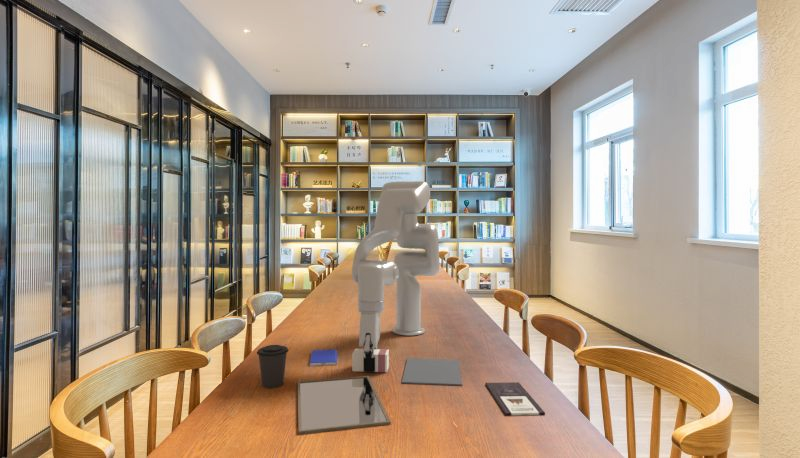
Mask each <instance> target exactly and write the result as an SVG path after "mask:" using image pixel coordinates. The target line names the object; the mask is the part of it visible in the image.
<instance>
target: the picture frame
mask: <svg viewBox="0 0 800 458" xmlns="http://www.w3.org/2000/svg"><path fill="white" fill-rule="evenodd" d="M297 415H298V416H297V417H298V421H297V423H298V435H308V434H317V433H326V432H335V431H342V430H343V431H344V430H352V429H353V430H354V429H359V428H360V429H361V428H369V427H371V428H372V427H378V426H379V427H380V426H389V425H392V424H391V420H390V417H389V415H388V413H387V410H386V409H385V407H384V405H383V403H382V401H381V398H380V397H379V394H378V393H377V390H376V388H375V386H374V384H373V382H372V379H371V378H370V375H362V376H360V375H359V376H350V377H349V376H348V377H337V378H324V379H312V380H301V381H300V380H299V381H297Z"/></svg>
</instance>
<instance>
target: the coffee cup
mask: <svg viewBox="0 0 800 458" xmlns="http://www.w3.org/2000/svg"><path fill="white" fill-rule="evenodd" d="M288 352H289V349H288V347H287V346H285V345H281V344H271V345H266V346H262V347H259V349H257V351H256V354H257V355H258V360H259V368H260V377H261V385H262V387H263V388H266V389H274V388H279V387H282V386H283V385H284V379H285V371H286V364H287V353H288Z"/></svg>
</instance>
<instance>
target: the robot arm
mask: <svg viewBox="0 0 800 458" xmlns="http://www.w3.org/2000/svg"><path fill="white" fill-rule="evenodd" d="M430 197H431V188H430V185H429V184H428V183H427V182H426V181H422V180H421V181H419V180H418V181H415V180H414V181H411V180H410V181H405V180H404V181H390V182H389V181H388V182H385V183H384V184H383V185H382V187H381V193H380V197H379V198H378V205H377V210H376V216H375V221H374V224H373V225H374V226H373V229H372V230H371V231H369V232H368V233H367V234H366V235H365V236H364V237H363V239H362V240H361V241H360V242H359V243H358V245H357V247H356V249H355V252H354V256H353V262H352V267H351V276H352V279H353V282H355V283H357V300H358V301H357V313H360V319H359V337H358V338H359V339H358V346H359V348H362V347H363V349H364V371H366V372H369V373H375V372H374V371H375V357H374V349H378V343H379V341H380V338H381V313H383V312H384V311H385V296H384V295H385V291H384V290H385V286H391V285H394V284H396V285H395V286H396V302H395V303H396V314H395V315H396V318H395V319H396V325H395V326H393V328H392V331H391V332H392V333H393V334H394V335H395V334H396V335H399V336H420V335H422V334H424V333H425V331H426V330H425V328H424V327H423V326H421V325H422V323H421V322H422V317H421V316H422V311H421V310H422V288H421V284H420V281H419V280H418V279H417V276H419V277H420V276H421V277H434V276H437V274H438V273H439V272H440V271H439V270H440V251H439V250H440V247H439V245H440V244H439V234H438V229H437V227H436V226H435V225H433V224H431V223H419V222H418V214H420V213H421V212H422V211H423V210H424V209H425V207H426V206H427V204H428V203H429V201H430V199H431V198H430ZM393 240H396V243H397V245H398V247H400V248H402V249H415V250H402V251H399V252H397V253H395V256H394V260H393V261H391V260H377V259H367V257H369V256H368V255H369V254H370V253H371V252H372V251H373V250H374V249H375V248H377V247H379V246H382V245H384V244H386V243H388V242H390V241H393ZM370 349H372V351H371V350H370Z"/></svg>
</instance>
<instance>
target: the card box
mask: <svg viewBox="0 0 800 458" xmlns="http://www.w3.org/2000/svg"><path fill="white" fill-rule="evenodd" d="M370 350H371V351H372V349H370ZM389 350H390V349H386V348H385V349H384V348H380V349H379V348H377V349H374V357H375V371H374V372H373V373H388V370H389V367H390V358H389V357H390V353H389V352H390V351H389ZM351 354H352V355H351V356H352V357H351V360H352V362H351V363H352V364H351V365H352V368H351V369H352V370H351V371H352V372H364V373H365V372H366V371H364V348H355V349H354V351H353V352H352V353H351Z"/></svg>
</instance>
